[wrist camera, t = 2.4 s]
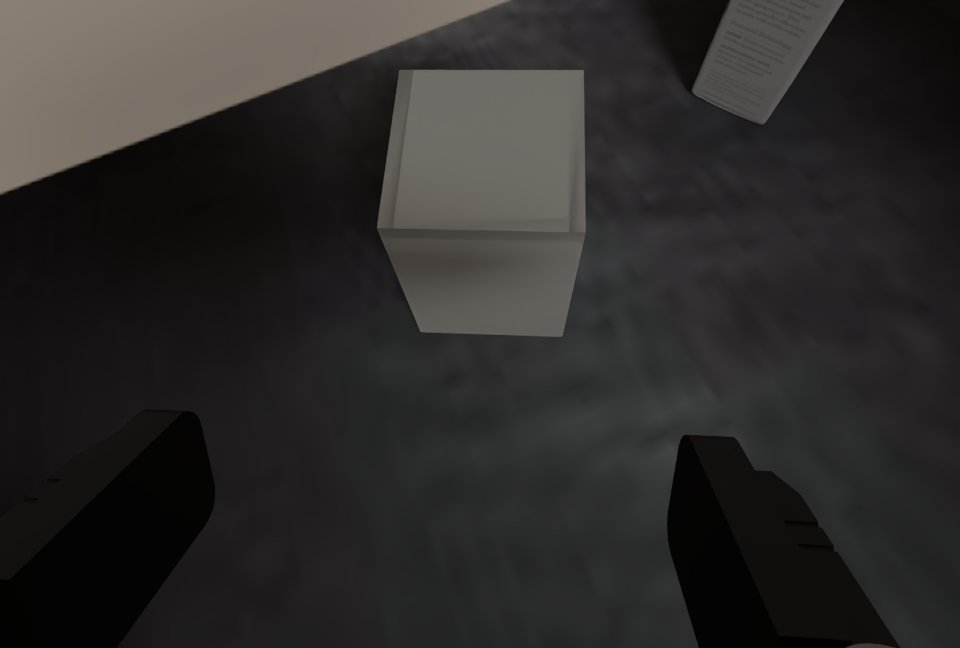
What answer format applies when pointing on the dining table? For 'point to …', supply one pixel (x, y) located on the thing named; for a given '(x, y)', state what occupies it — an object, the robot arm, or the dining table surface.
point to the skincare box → (760, 53)
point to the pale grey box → (486, 198)
